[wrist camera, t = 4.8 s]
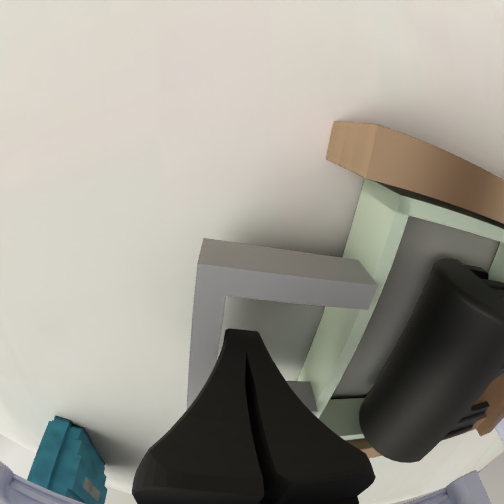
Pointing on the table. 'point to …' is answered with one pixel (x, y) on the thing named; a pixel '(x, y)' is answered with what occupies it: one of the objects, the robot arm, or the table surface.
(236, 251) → the pull tray
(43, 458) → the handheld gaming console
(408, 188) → the brown wooden frame
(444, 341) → the end cap
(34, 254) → the table surface
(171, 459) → the robot arm
